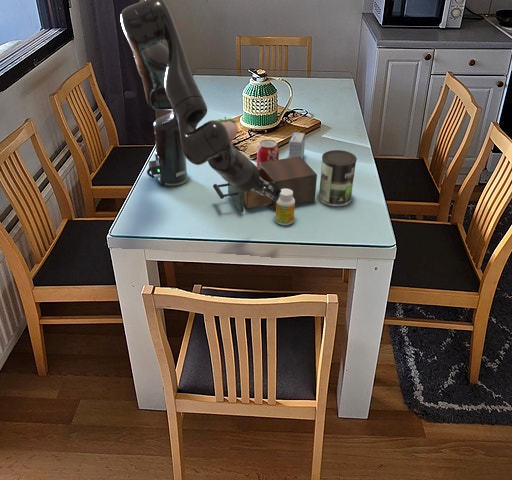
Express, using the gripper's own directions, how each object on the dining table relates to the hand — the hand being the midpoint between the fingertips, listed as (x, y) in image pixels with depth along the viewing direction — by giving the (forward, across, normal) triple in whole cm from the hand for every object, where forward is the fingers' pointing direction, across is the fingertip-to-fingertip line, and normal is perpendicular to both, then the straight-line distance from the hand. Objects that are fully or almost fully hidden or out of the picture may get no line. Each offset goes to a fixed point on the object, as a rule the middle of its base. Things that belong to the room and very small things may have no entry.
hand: (263, 193), depth 152 cm
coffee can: (+33, +6, +12) cm, 36 cm away
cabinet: (+27, -7, +7) cm, 29 cm away
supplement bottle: (+19, 0, -2) cm, 19 cm away
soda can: (+32, -19, +12) cm, 39 cm away
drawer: (+19, -15, -1) cm, 24 cm away
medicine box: (+44, -18, +23) cm, 53 cm away
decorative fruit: (+41, -46, +20) cm, 65 cm away
